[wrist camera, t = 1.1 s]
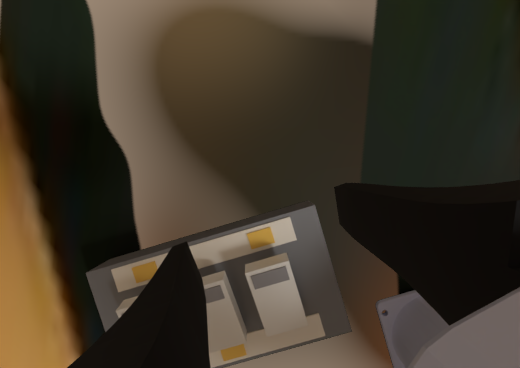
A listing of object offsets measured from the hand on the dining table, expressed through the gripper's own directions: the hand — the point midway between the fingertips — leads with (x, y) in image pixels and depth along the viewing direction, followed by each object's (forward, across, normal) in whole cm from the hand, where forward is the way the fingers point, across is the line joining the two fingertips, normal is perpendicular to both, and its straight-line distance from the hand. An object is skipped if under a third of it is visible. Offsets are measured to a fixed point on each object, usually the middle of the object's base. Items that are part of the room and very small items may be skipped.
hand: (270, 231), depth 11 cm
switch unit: (+9, +3, +9) cm, 13 cm away
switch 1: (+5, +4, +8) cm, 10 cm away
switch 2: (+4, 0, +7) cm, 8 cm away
